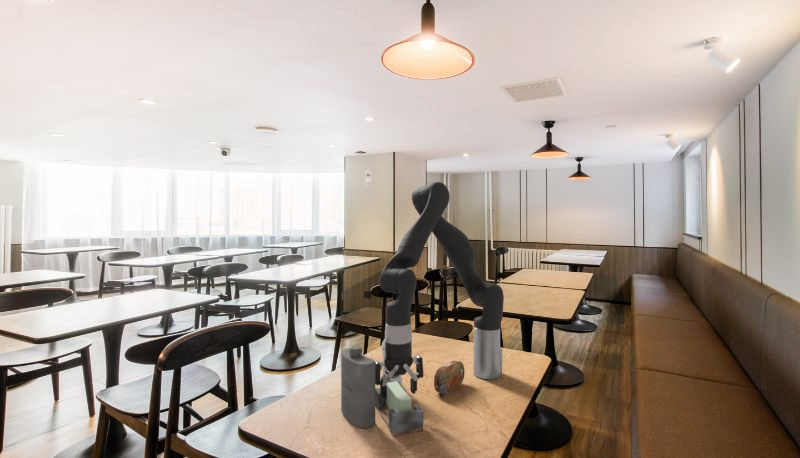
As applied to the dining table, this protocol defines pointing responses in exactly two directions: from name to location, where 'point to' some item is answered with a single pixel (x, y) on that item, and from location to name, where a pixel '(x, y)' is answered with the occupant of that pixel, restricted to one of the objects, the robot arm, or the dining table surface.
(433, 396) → the dining table surface
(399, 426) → the cradle
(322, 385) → the dining table surface
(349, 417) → the flask
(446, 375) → the tin
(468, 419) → the dining table surface
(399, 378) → the plastic bottle
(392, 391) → the slat
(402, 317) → the robot arm
